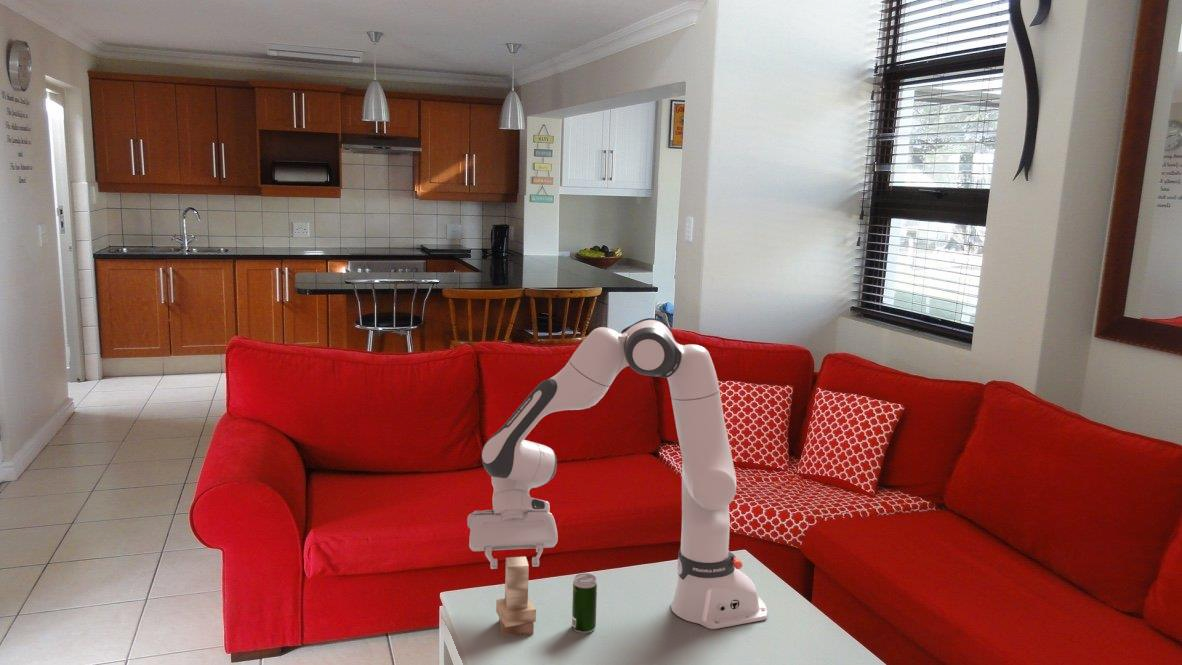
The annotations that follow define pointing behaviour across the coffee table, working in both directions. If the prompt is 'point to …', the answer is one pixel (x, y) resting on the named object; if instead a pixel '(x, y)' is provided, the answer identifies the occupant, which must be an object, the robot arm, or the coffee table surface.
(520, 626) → the light brown flat block
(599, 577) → the coffee table surface
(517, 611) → the oak block
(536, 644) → the coffee table surface
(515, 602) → the tan block
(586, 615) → the beer can
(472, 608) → the coffee table surface
